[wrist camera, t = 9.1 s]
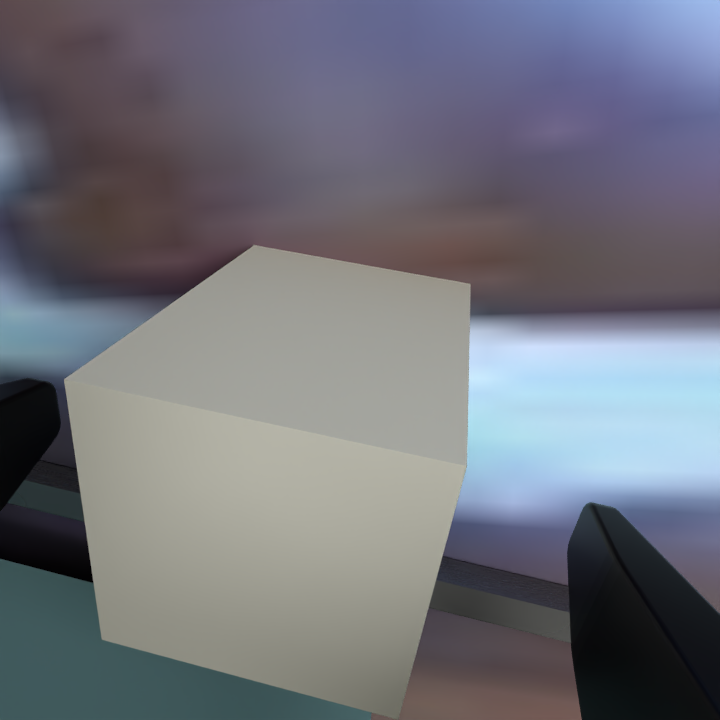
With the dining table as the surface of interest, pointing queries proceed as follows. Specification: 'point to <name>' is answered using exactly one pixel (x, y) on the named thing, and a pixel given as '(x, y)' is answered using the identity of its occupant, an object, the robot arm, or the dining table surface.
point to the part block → (279, 472)
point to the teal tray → (115, 667)
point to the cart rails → (452, 587)
